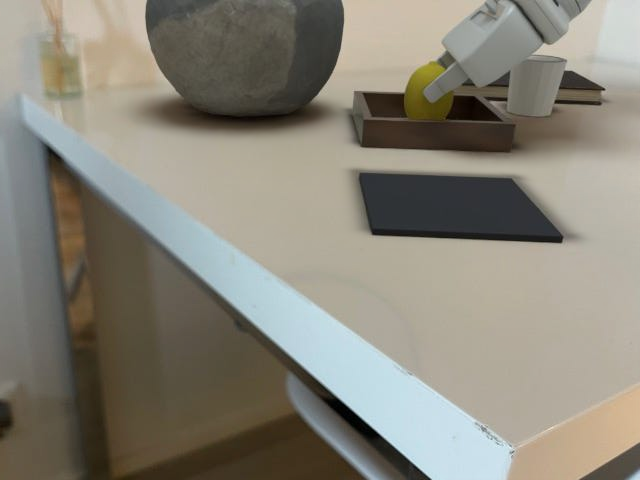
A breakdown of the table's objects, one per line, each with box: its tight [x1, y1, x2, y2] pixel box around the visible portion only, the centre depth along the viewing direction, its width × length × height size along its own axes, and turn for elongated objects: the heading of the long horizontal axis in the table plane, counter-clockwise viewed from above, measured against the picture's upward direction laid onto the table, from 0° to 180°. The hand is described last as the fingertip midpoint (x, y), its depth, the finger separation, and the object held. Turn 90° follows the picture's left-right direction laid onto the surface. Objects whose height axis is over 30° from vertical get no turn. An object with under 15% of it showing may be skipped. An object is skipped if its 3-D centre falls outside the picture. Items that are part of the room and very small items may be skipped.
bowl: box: [144, 0, 345, 118], centre depth 83 cm, size 24×24×15 cm
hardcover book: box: [454, 69, 606, 106], centre depth 102 cm, size 16×23×2 cm
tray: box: [351, 90, 517, 153], centre depth 78 cm, size 16×16×3 cm
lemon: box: [404, 60, 454, 120], centre depth 77 cm, size 6×6×8 cm
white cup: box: [506, 54, 568, 118], centre depth 88 cm, size 7×7×7 cm
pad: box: [358, 172, 564, 243], centre depth 55 cm, size 14×14×1 cm
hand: (423, 91), depth 77 cm, fingers closed on lemon, 5 cm apart
